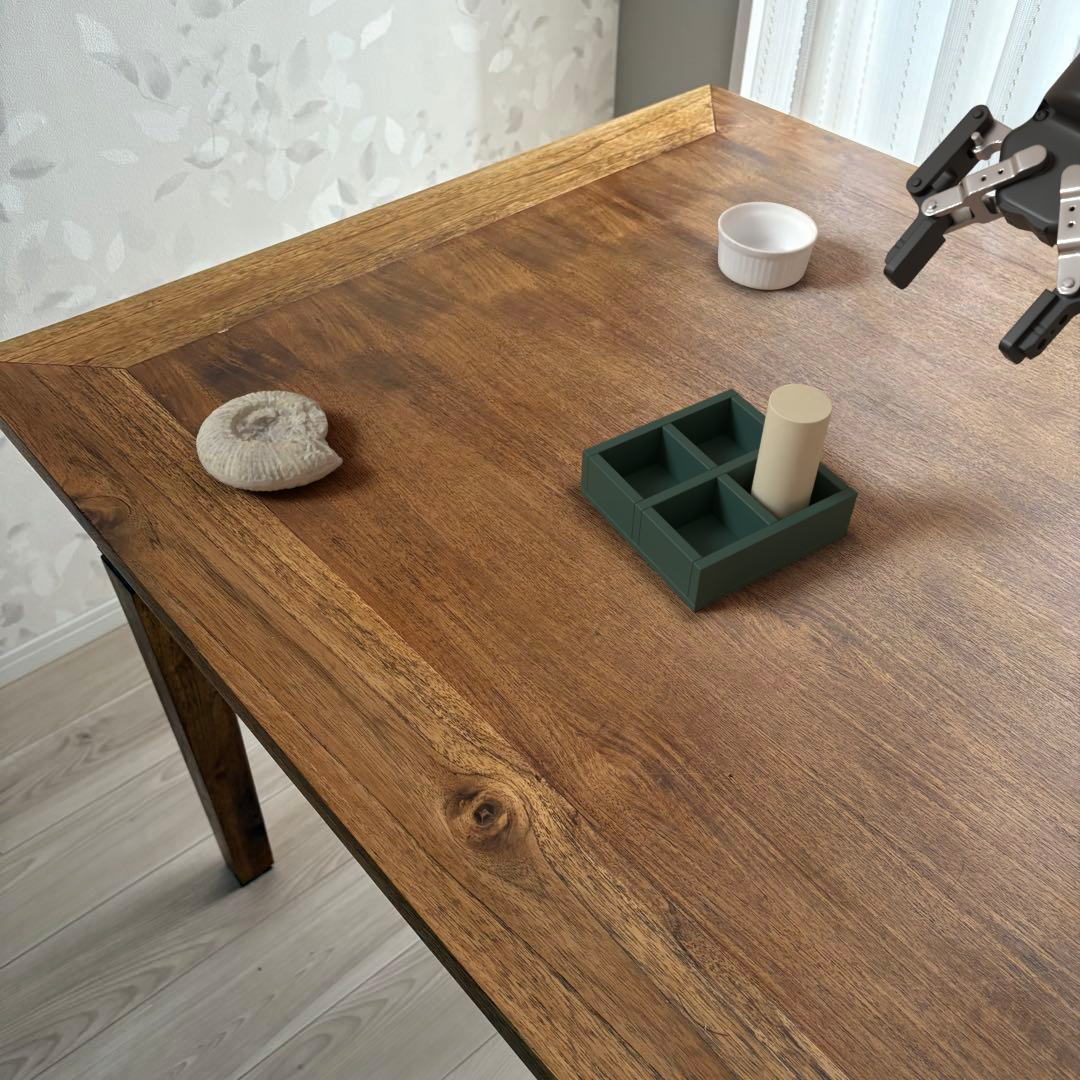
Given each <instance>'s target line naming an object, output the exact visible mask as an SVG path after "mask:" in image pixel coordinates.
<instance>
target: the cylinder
mask: <svg viewBox="0 0 1080 1080" xmlns="http://www.w3.org/2000/svg"><path fill="white" fill-rule="evenodd" d="M833 407H834V405H833V402H832V399H831V398H830V397H829V395H827V394H826V393H825V392H824V391H822V390H821V389H819V388H817V387H815V386H812V385H809V384H803V383H788V384H783V385H781V386H778V387H777V388H775V389H774V390H773V391H772V392H771V394H770V395H769V398H768V404H767V408H766V412H765V413H766V414H765V416H766V418H765V423H764V428H763V433H762V439H761V444H760V449H759V454H758V459H757V464H756V469H755V475H754V480H753V485H752V490H751V496H752V497H753V498H754V499H755V500H756V501H757V502H758V503H760V504H761V505H762V506H763V507H764V508H765V509H766V510H767V511H768V512H769V513H771V514H772V515H773V516H774V517H775V518H776V519H777V520H778V521H780V520H782V519H784V518H786V517H788V516H790V515H793V514H795V513H797V512H799V511H801V510H803V509H805V508H807V507H808V506H809V502H810V498H811V494H812V490H813V486H814V482H815V478H816V474H817V470H818V466H819V462H821V458H822V454H823V450H824V445H825V442H826V437H827V434H828V429H829V426H830V421H831V417H832V414H833V409H834V408H833Z"/></svg>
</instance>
